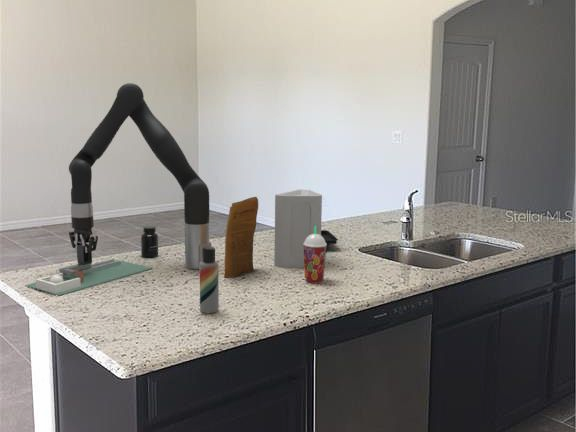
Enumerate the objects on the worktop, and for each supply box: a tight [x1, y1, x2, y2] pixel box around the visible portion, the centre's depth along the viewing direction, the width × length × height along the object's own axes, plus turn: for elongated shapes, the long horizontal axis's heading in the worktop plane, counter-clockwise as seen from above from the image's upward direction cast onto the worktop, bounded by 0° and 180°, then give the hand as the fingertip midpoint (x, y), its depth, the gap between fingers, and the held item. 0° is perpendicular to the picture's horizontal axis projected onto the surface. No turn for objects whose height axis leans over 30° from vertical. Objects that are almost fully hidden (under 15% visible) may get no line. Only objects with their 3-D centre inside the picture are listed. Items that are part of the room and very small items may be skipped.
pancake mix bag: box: [223, 196, 259, 278], centre depth 229 cm, size 7×19×28 cm, turn 144°
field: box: [25, 260, 153, 297], centre depth 223 cm, size 18×41×1 cm, turn 146°
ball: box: [50, 275, 64, 284], centre depth 209 cm, size 4×4×4 cm
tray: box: [321, 229, 339, 247], centre depth 276 cm, size 30×23×5 cm
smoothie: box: [303, 226, 327, 284], centre depth 221 cm, size 8×8×20 cm
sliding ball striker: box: [59, 243, 93, 282], centre depth 221 cm, size 12×12×10 cm
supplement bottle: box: [140, 225, 159, 259], centre depth 253 cm, size 7×7×12 cm
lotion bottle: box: [199, 246, 220, 314], centre depth 189 cm, size 6×6×20 cm
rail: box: [49, 258, 122, 280], centre depth 228 cm, size 4×28×2 cm, turn 146°
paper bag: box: [273, 189, 323, 269], centre depth 243 cm, size 19×15×28 cm
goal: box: [35, 272, 81, 294], centre depth 209 cm, size 10×10×3 cm
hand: (84, 260), depth 227 cm, fingers open, 4 cm apart
